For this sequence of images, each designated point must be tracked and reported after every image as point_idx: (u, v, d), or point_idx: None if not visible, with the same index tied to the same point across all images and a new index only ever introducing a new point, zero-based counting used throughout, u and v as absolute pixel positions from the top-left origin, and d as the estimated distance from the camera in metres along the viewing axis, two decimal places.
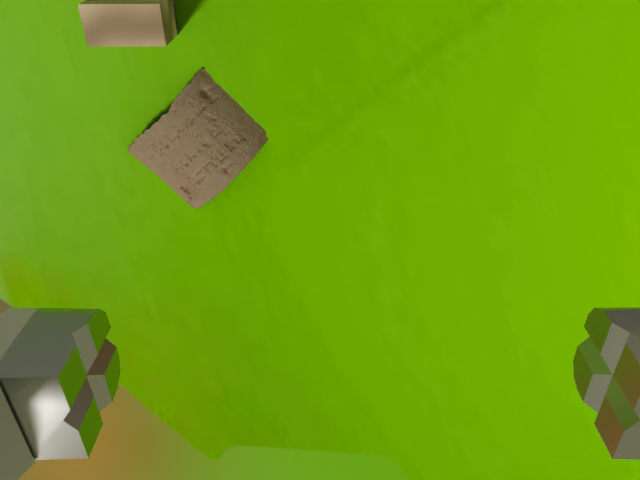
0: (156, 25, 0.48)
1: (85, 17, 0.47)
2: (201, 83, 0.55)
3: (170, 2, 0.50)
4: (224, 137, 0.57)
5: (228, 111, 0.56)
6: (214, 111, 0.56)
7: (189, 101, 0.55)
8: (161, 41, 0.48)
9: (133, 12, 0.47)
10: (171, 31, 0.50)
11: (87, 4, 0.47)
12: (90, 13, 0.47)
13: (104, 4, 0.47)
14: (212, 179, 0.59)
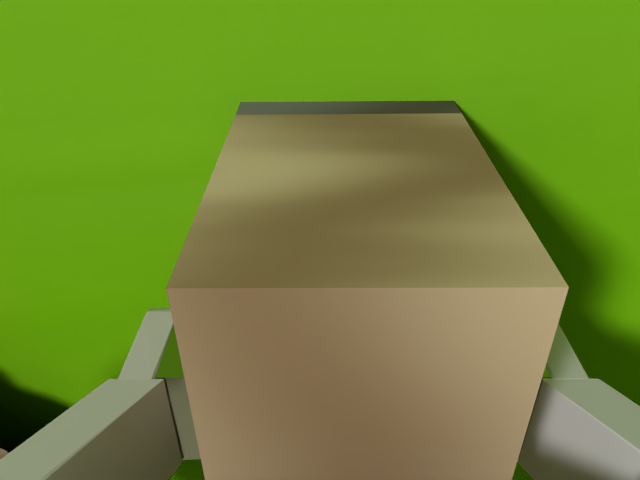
0: None
1: (441, 326, 0.05)
2: None
3: None
4: None
5: None
6: None
7: None
8: None
9: None
10: None
11: (540, 345, 0.05)
12: (468, 366, 0.05)
13: None
14: None
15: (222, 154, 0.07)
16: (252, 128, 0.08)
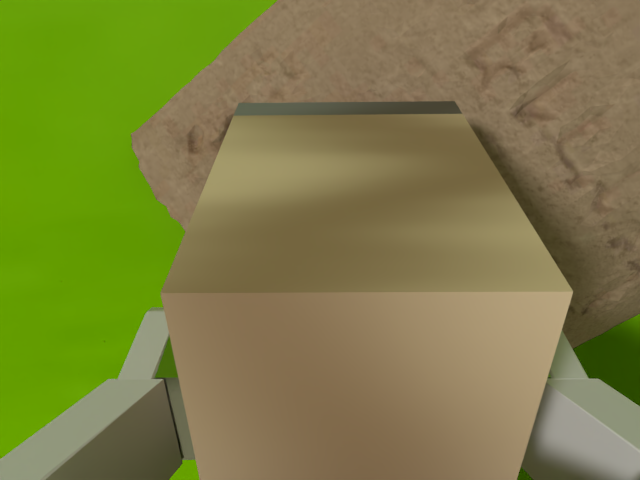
0: None
1: (442, 331, 0.05)
2: None
3: None
4: None
5: (587, 332, 0.15)
6: (616, 305, 0.14)
7: None
8: None
9: None
10: None
11: (544, 350, 0.05)
12: (470, 371, 0.05)
13: None
14: None
15: (219, 155, 0.07)
16: (249, 129, 0.08)
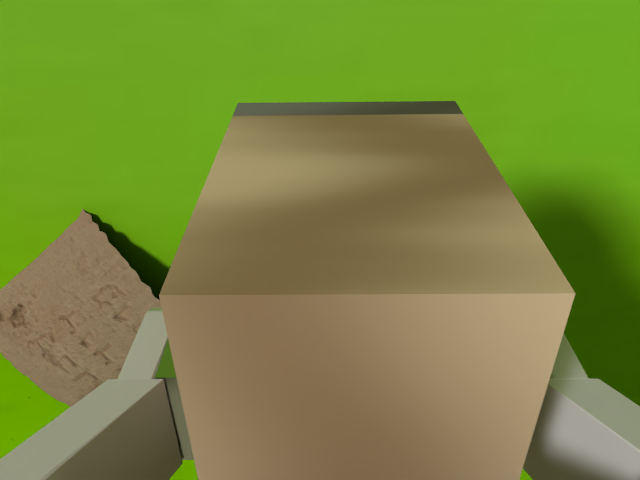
0: None
1: (443, 334, 0.05)
2: None
3: None
4: None
5: None
6: None
7: None
8: None
9: None
10: None
11: None
12: (472, 374, 0.05)
13: None
14: (61, 380, 0.29)
15: (218, 156, 0.07)
16: (248, 130, 0.08)
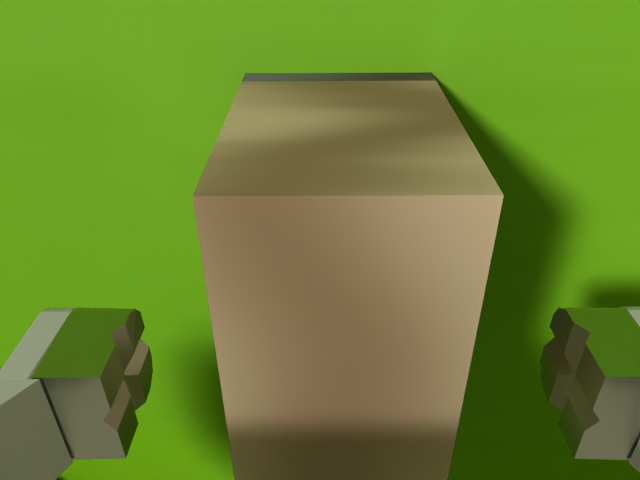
0: None
1: (406, 228, 0.06)
2: None
3: None
4: None
5: None
6: None
7: None
8: None
9: (408, 454, 0.09)
10: None
11: (486, 248, 0.07)
12: (430, 264, 0.07)
13: (468, 336, 0.07)
14: None
15: (232, 109, 0.09)
16: (256, 91, 0.09)
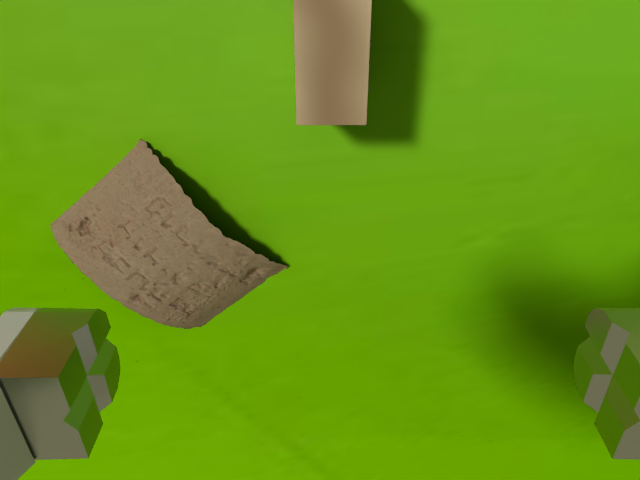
0: (330, 114, 0.27)
1: None
2: (267, 268, 0.38)
3: None
4: (190, 296, 0.38)
5: (228, 295, 0.39)
6: (228, 285, 0.38)
7: (242, 260, 0.36)
8: (304, 118, 0.27)
9: (353, 77, 0.26)
10: None
11: None
12: None
13: (369, 24, 0.25)
14: (116, 279, 0.36)
15: None
16: None
